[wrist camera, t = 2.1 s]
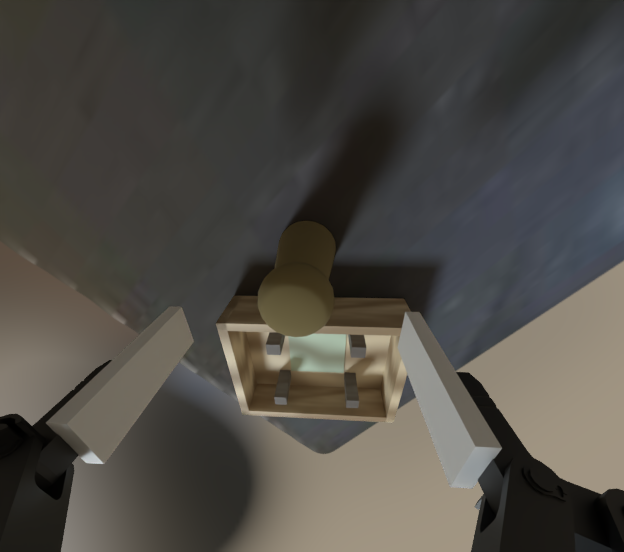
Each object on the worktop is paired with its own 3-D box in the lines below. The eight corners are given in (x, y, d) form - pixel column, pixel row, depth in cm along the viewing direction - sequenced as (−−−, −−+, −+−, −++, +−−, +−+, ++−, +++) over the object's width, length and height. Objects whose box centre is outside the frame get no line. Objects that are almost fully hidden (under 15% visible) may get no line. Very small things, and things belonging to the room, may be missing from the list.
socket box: (234, 295, 27) (215, 323, 22) (403, 298, 25) (420, 328, 21) (253, 381, 34) (242, 414, 30) (384, 387, 33) (393, 422, 29)
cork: (269, 231, 22) (226, 288, 13) (326, 212, 21) (325, 260, 12) (291, 280, 25) (268, 358, 16) (342, 266, 24) (353, 341, 14)
